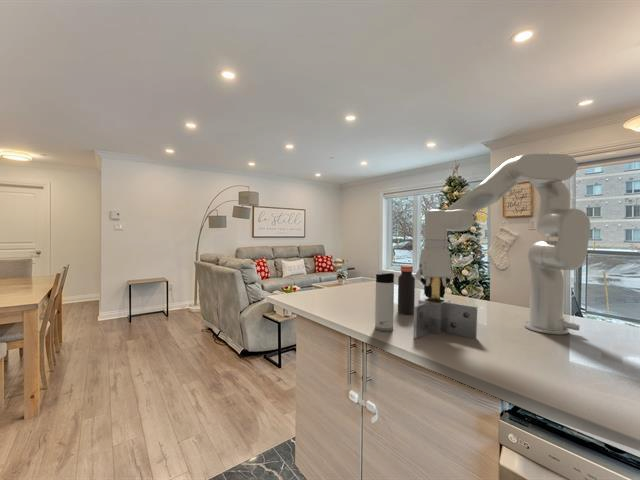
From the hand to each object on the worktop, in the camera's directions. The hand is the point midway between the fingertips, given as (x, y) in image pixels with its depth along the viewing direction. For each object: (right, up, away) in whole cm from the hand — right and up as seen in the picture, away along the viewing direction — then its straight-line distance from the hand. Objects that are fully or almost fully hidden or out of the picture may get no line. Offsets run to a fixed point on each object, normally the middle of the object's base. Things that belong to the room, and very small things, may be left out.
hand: (434, 296), depth 107 cm
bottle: (-4, -11, +22) cm, 25 cm away
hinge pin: (0, -4, 0) cm, 4 cm away
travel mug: (-18, -12, -1) cm, 21 cm away
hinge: (0, -12, -7) cm, 14 cm away
